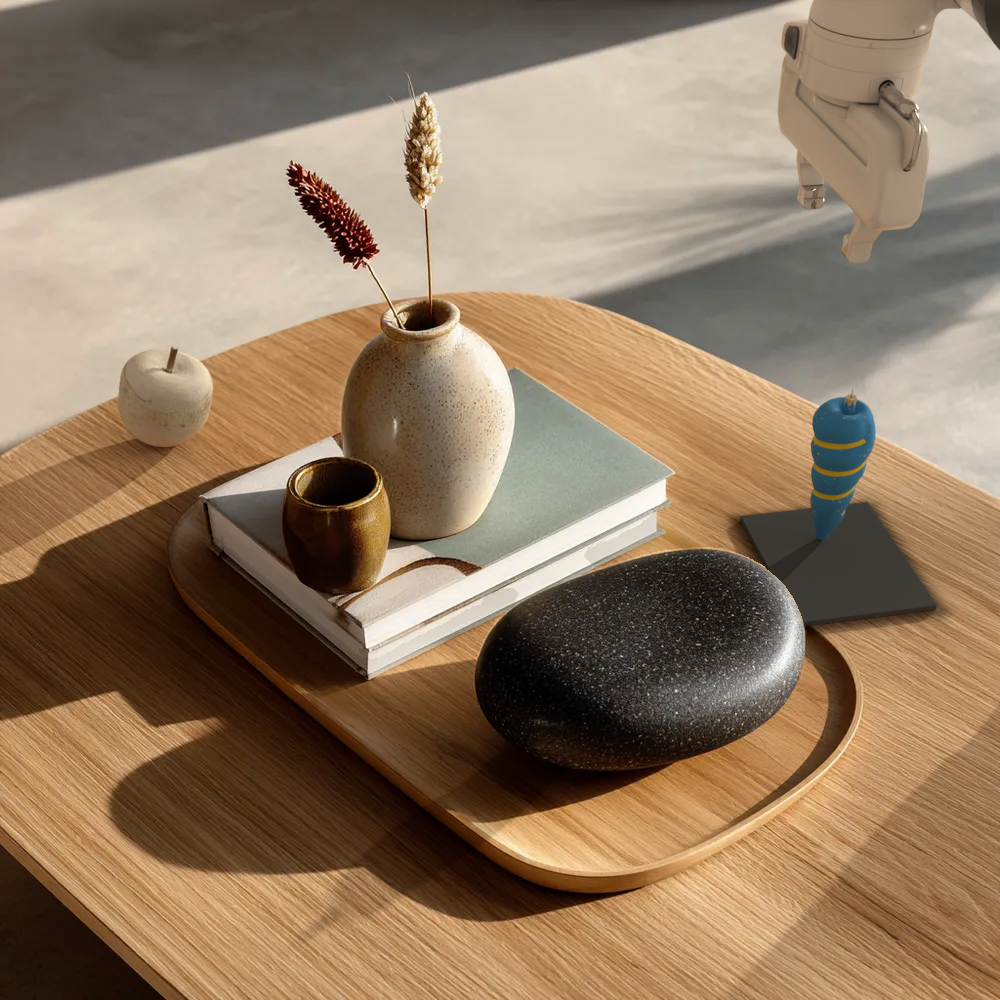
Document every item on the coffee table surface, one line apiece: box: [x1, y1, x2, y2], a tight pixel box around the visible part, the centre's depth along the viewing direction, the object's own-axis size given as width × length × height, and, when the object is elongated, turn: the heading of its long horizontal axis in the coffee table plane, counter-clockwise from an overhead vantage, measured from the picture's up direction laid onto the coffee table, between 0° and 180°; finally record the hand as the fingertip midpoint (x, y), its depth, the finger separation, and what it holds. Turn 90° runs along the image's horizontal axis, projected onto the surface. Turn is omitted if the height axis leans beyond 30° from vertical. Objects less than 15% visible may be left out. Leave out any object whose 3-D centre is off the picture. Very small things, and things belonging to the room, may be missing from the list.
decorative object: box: [117, 345, 214, 448], centre depth 123 cm, size 9×9×10 cm
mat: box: [739, 501, 938, 627], centre depth 113 cm, size 12×14×1 cm
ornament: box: [809, 389, 877, 540], centre depth 111 cm, size 5×5×15 cm
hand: (831, 231), depth 107 cm, fingers open, 8 cm apart
